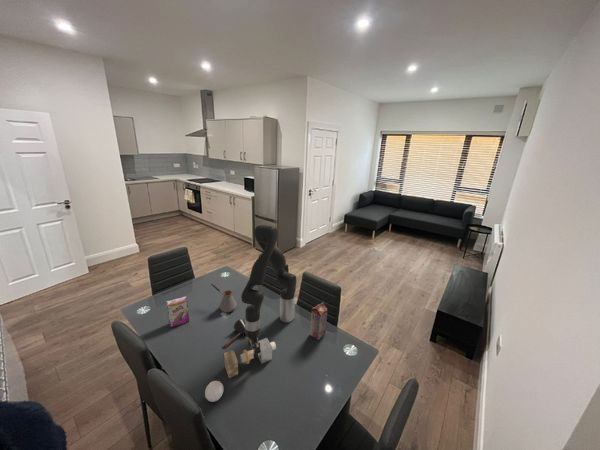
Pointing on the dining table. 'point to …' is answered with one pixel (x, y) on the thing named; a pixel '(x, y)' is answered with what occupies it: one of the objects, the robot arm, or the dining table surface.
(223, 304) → the coffee pot
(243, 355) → the tube
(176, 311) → the candy bar box
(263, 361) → the grey block
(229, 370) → the socket
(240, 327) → the coffee pot
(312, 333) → the juice carton
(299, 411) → the dining table surface
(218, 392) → the geometric ball
